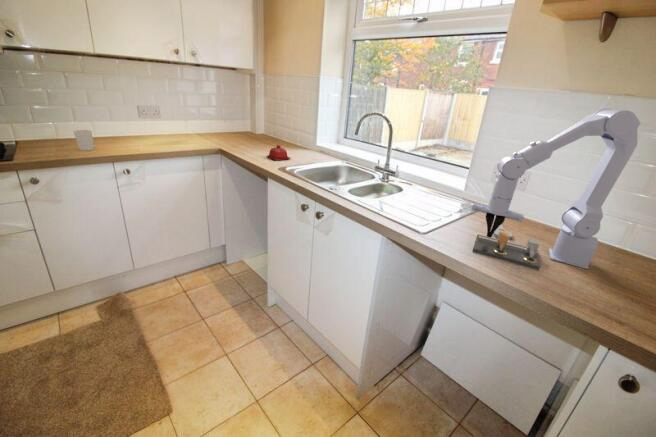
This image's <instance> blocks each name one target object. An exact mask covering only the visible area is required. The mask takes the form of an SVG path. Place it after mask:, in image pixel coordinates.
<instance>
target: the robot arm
mask: <svg viewBox="0 0 656 437" xmlns="http://www.w3.org/2000/svg"><path fill="white" fill-rule="evenodd" d="M641 124H642V123H641V120H640V119H639V118H638V116H637V115H636V114H635V113H634V112H633V111H630V110H624V109H623V110H619V109H618V110H617V109H612V108H601V109H599V110H597V111H595V112H594V113H592V114H589V115H587V116H585V117H584V118H582V119H580V120H579V121H578V122H576V123H575V124H573V125H571V126H570V127H568V128H566V129H565V130H563V131H561V132H559V133H558V134H556V135H555V136H553V137H552V138H550V139H548V140H547V141H543V140H538V141H531V142H530V143H529V146H527V147H525V148H523V149H521V150H519V151H514V152H513V153H512V155H508V156H505V157H503V158H502V159H501V160H500V162H498V163H497V170H498V172H497V175H496V176H497V177H496V179H495V182H494V184H493V189H492V191H491V194H490V199H489V202H488V205H487V204H480V203H479V204H478V203H475V202H474V203H472V206H471V209H470V210H471V211H472V212H475V211H476V212H480V213H483V214H485V220H486V227H487V230H486V237H489V238H492V237H493V233H494V232H495V230H496V229H497V228H498V227H499V226H500V225H501V224H502V225H503V223H504V222H505V220H506V219H510V220H512V221H513V220H514V221H517V222H519V223H523V220H524V218H525V216H524V215H525V214H523V213H518V212H515V211H512V210H509V209H510V206H511V203H512V200H513V198H514V193H515V191H516V188H517V185H518V181H519V178H521V177H523V175H525V173H526V171H529V169H532V168H534V167H535V166H537V165H539V164H541V163H543V162H545V161H546V160H549V159H550V158H551V157H552V155H553V153H554V151H556V150H559V149H561V148H563V147H565V146H567V145H569V144H572V143H574V142H576V141H578V140H580V139H582V138H584V137H587V136H588V137H593V136H594V137H597V136H600V137H601V139H602V140H603V142H604V143H605V144H606V146H607V148H606V150H605V152H604V154H603V155H602V157H601V159H600V160H599V162H598V165H597V166H596V168H595V170H594V172H593V174H592V175H591V177H590V179H589V181H588V183H587V184H586V187H585V188H584V190H583V191H582V194H581V195H580V198H578V199H577V200H575V201H573V202H571V204H570V206H569V207H568V208H567V209H566V210H564V211H563V213H561V222H562V223H563V224H562V226H561V229H560V231H559V232H558V236H557V238H556V241H555V243H554V246H553V248H548V252H549V258H550V259H551V260H553V261H557V262H561V263H563V264H567V265H572V266H575V267H579V268H582V269H586V270H587V269H589V265H590V263H591V261H592V259H593V257H594V255H595V253H596V251H597V248H598V245H599V242H598V241H599V240H598V237H595V235H597V233H599V231H600V230H601V221H602V219H603V217H604V215H603V209H602V206H603V205H604V203H605V201H606V200H607V198H608V196H609V194H610V193H611V191H612V189H613V188H614V186H615V184H616V182H617V181H618V179H619V177H620V176H621V174H622V172H623V170H624V169H625V167H626V165H627V164H628V162H629V160H630V158H631V157H632V155H633V153H634V152H635V150H636V148H637V145H638V129H639V127H640V126H641ZM495 215H496V217H495ZM494 217H495V221H494ZM493 221H494V223H493Z"/></svg>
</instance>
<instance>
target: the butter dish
mask: <svg viewBox="0 0 656 437" xmlns="http://www.w3.org/2000/svg"><path fill="white" fill-rule="evenodd" d="M266 157H267V158H269V159H272V160H274V161H286V160H290V159H291V157H289V156H288V152H287V150H286V149H284V148H283V147H282V145H280V144H276V147H271V148H270V149H269V153H268V155H266Z"/></svg>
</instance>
